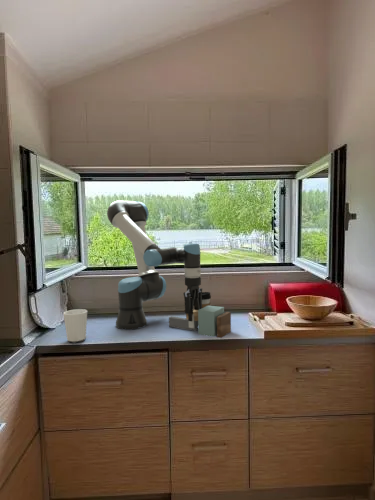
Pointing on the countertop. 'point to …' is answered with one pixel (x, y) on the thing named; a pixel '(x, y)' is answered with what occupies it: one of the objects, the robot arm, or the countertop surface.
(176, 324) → the rail
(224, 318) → the wall
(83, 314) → the cup
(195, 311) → the oak peg
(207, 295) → the coffee cup
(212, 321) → the bore block
